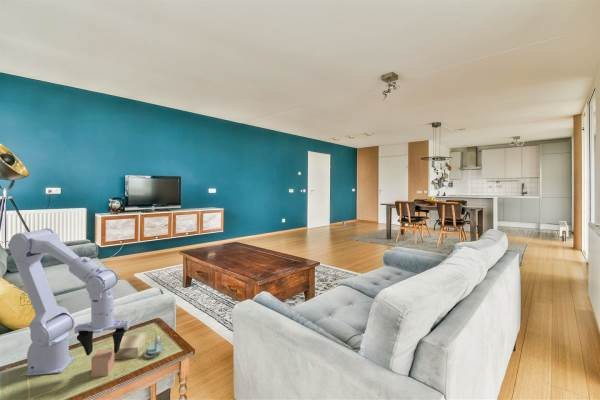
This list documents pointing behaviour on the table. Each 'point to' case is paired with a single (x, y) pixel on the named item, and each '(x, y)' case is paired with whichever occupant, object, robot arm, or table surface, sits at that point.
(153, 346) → the pacifier
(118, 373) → the table surface
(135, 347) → the birch block
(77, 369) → the table surface
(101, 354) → the terracotta block
